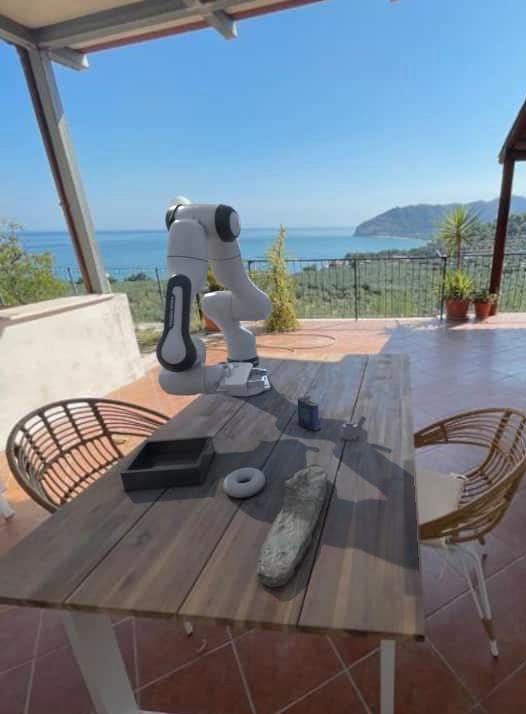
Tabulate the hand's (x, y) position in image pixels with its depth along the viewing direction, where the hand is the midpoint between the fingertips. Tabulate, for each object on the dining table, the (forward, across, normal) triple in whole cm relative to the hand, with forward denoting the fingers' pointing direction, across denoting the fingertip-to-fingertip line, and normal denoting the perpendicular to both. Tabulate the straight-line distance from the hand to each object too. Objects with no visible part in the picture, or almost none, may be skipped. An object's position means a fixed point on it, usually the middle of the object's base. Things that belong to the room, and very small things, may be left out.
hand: (265, 377), depth 118 cm
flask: (+12, 0, +18) cm, 22 cm away
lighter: (+26, -10, +18) cm, 33 cm away
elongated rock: (+9, -45, +18) cm, 49 cm away
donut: (-4, -31, +18) cm, 36 cm away
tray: (-24, -20, +18) cm, 36 cm away
